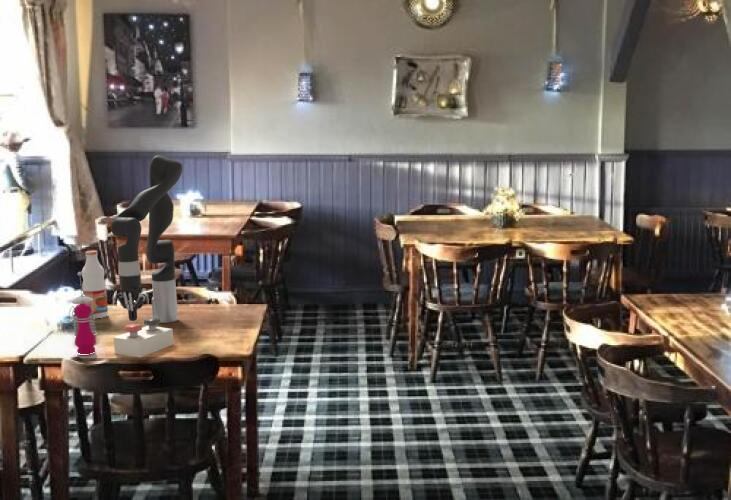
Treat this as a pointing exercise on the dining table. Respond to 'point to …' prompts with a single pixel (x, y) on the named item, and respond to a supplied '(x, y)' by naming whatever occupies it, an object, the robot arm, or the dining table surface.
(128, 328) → the red button
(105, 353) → the dining table surface
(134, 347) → the control box
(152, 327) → the dark grey knob
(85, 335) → the pepper mill
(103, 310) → the fruit juice
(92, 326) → the french press
